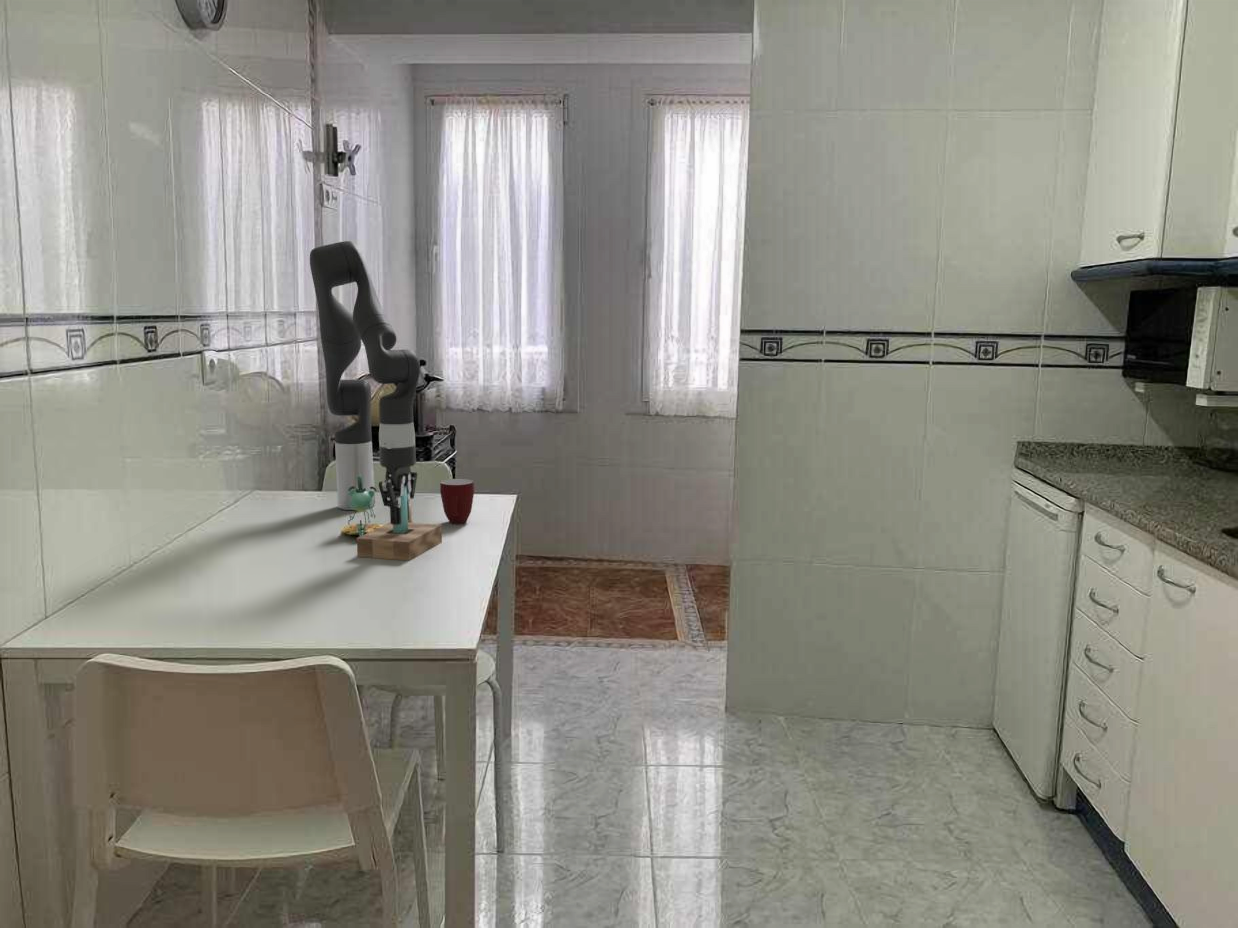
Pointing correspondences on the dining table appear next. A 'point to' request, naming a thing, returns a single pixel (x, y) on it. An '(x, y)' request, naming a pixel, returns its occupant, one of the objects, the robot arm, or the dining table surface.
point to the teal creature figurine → (361, 509)
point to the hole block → (399, 541)
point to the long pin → (402, 515)
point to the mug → (457, 499)
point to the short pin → (410, 514)
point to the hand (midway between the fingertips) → (399, 521)
